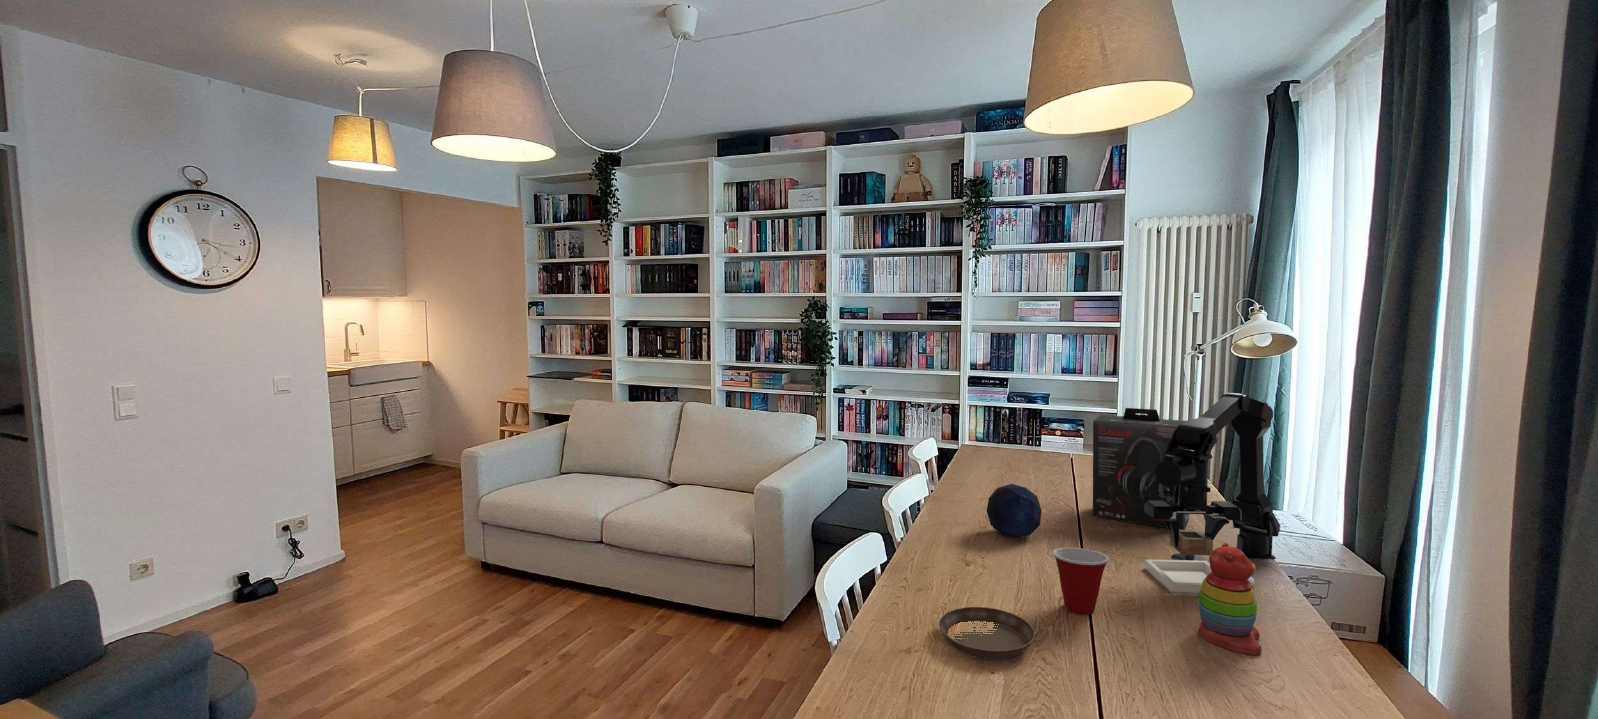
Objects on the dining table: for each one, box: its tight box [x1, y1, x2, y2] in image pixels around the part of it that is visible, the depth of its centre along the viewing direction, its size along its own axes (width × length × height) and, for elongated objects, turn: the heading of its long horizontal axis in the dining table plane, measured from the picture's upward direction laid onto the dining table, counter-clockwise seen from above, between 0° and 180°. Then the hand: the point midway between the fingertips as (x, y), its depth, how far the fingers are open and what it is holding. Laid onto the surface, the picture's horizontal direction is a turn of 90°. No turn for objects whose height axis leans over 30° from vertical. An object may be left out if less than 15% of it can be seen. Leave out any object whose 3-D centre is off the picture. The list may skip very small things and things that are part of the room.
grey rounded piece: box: [1170, 553, 1209, 562], centre depth 163 cm, size 8×8×5 cm
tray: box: [1144, 559, 1212, 596], centre depth 151 cm, size 14×14×2 cm
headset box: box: [1092, 407, 1190, 530], centre depth 195 cm, size 25×12×33 cm, turn 54°
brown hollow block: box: [1169, 529, 1214, 556], centre depth 151 cm, size 8×6×4 cm
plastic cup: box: [1052, 547, 1110, 616], centre depth 139 cm, size 11×11×12 cm
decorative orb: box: [986, 483, 1043, 539], centre depth 183 cm, size 14×15×15 cm
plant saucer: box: [938, 606, 1036, 660], centre depth 127 cm, size 18×18×3 cm
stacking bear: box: [1197, 542, 1262, 656], centre depth 125 cm, size 11×10×18 cm
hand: (1190, 546), depth 151 cm, fingers closed on brown hollow block, 6 cm apart
